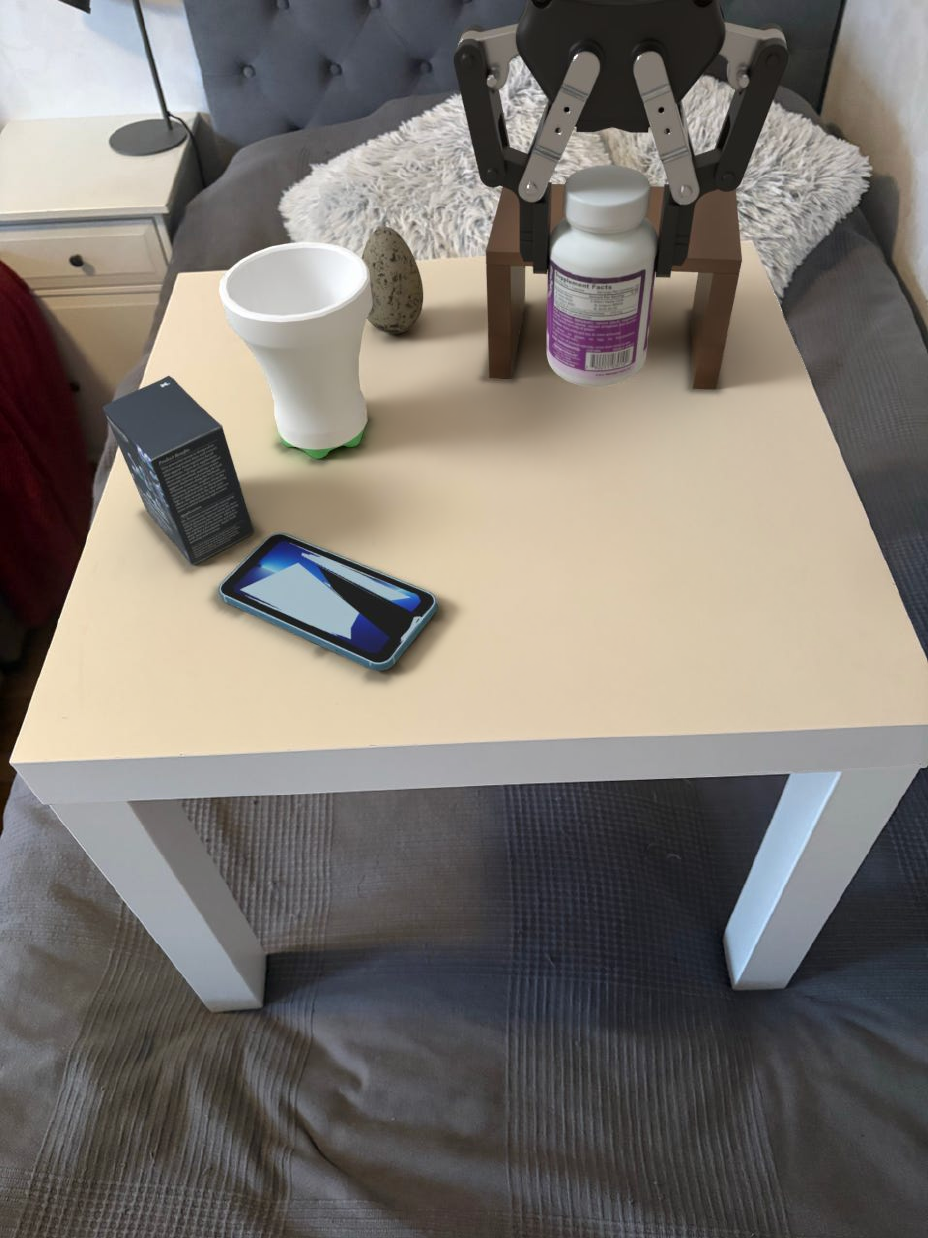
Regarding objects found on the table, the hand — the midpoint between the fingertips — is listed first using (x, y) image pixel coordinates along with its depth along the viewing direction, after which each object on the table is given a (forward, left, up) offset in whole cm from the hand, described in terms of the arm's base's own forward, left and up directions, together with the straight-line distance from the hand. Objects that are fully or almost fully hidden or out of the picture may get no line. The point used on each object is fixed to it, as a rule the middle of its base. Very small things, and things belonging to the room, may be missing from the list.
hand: (602, 266), depth 46 cm
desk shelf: (0, -32, -25) cm, 41 cm away
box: (+30, -5, -25) cm, 39 cm away
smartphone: (+18, +2, -25) cm, 31 cm away
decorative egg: (+20, -33, -25) cm, 46 cm away
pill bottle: (0, 0, -6) cm, 6 cm away
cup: (+23, -17, -25) cm, 38 cm away
